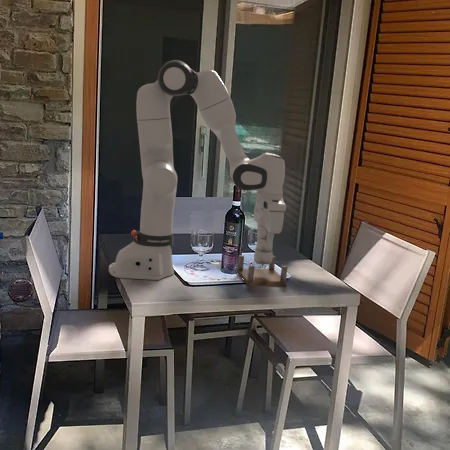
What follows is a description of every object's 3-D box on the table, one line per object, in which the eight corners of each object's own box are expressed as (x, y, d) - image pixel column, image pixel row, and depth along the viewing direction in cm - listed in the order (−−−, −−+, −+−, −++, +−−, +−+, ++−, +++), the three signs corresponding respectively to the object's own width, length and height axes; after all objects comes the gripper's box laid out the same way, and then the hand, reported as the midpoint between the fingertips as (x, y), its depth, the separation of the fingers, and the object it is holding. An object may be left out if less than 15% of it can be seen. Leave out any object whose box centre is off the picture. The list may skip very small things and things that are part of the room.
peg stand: (247, 285, 195) (249, 267, 193) (236, 272, 208) (238, 255, 206) (286, 285, 199) (288, 267, 197) (272, 272, 212) (274, 255, 210)
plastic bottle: (270, 267, 198) (277, 211, 194) (251, 264, 199) (257, 208, 195) (273, 262, 204) (279, 207, 200) (254, 260, 206) (260, 205, 201)
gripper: (251, 194, 206) (247, 231, 209) (270, 206, 187) (265, 247, 190) (267, 195, 207) (264, 232, 211) (288, 207, 188) (283, 247, 191)
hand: (265, 239), depth 200 cm, fingers closed on plastic bottle, 6 cm apart
